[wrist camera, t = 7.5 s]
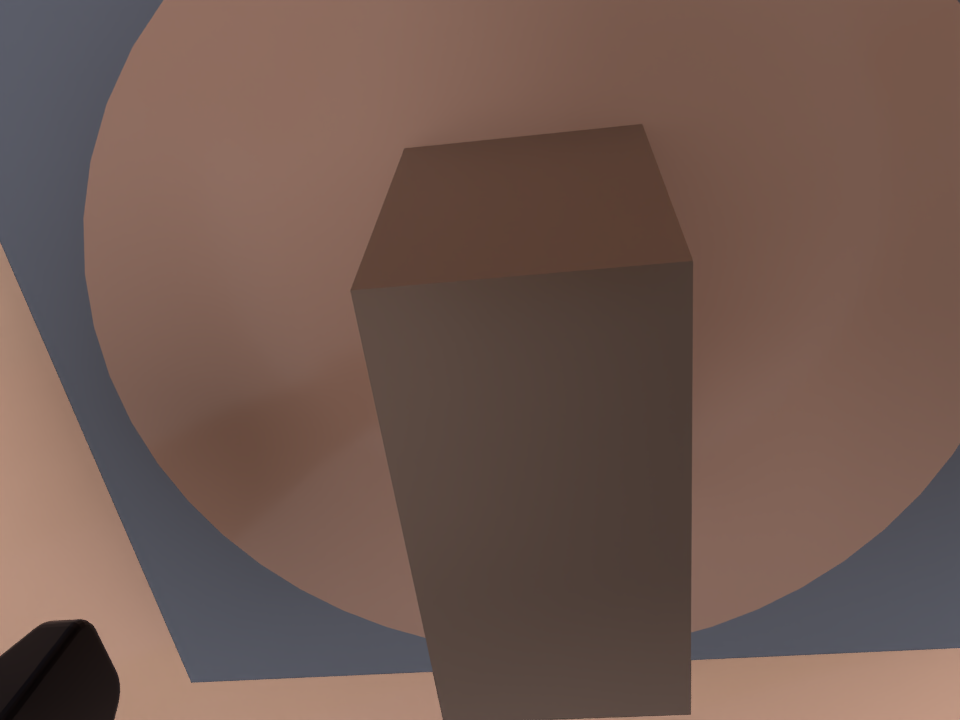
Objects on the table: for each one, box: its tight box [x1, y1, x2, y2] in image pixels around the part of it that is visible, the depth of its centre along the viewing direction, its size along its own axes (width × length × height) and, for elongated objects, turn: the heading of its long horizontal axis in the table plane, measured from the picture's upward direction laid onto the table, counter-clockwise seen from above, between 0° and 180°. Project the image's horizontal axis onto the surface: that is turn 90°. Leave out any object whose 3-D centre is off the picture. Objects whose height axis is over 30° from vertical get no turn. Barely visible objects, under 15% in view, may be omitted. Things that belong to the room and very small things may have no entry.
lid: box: [83, 0, 960, 720], centre depth 11 cm, size 13×13×5 cm
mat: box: [0, 0, 960, 683], centre depth 14 cm, size 16×16×1 cm
